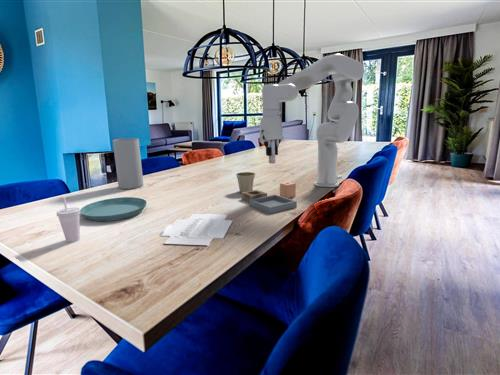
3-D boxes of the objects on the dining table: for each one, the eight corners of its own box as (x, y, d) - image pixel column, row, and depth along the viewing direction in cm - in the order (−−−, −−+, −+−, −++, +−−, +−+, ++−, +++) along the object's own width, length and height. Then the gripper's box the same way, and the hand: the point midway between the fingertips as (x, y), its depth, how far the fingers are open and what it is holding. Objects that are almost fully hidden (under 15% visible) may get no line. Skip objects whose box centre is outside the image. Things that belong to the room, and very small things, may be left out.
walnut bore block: (256, 195, 145) (256, 189, 144) (267, 199, 138) (267, 193, 138) (241, 198, 140) (241, 192, 140) (252, 203, 134) (252, 196, 133)
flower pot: (253, 194, 148) (253, 176, 146) (234, 193, 150) (233, 175, 148) (257, 189, 157) (257, 172, 155) (238, 188, 159) (238, 171, 157)
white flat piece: (236, 217, 119) (235, 207, 118) (219, 252, 92) (219, 240, 91) (183, 215, 121) (182, 206, 120) (153, 249, 95) (151, 238, 94)
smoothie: (67, 236, 102) (60, 194, 98) (87, 235, 102) (81, 193, 99) (57, 244, 96) (49, 200, 92) (79, 243, 96) (72, 199, 93)
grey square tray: (275, 199, 138) (275, 194, 138) (296, 207, 127) (296, 201, 127) (249, 205, 131) (249, 199, 130) (270, 213, 120) (269, 207, 119)
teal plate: (85, 208, 132) (84, 201, 131) (145, 201, 140) (145, 194, 139) (76, 227, 110) (75, 218, 109) (149, 218, 118) (148, 210, 117)
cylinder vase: (113, 188, 165) (107, 140, 159) (130, 183, 176) (125, 138, 170) (132, 190, 160) (126, 140, 154) (148, 184, 171) (143, 138, 165)
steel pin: (272, 162, 147) (272, 136, 144) (276, 162, 145) (276, 136, 142) (267, 162, 145) (266, 136, 143) (271, 163, 143) (271, 137, 140)
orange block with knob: (288, 194, 147) (288, 181, 146) (295, 196, 143) (295, 183, 142) (279, 196, 144) (279, 183, 143) (287, 198, 140) (287, 184, 139)
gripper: (280, 113, 147) (280, 152, 152) (251, 114, 138) (252, 156, 143) (290, 113, 141) (291, 154, 146) (261, 114, 132) (262, 158, 137)
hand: (272, 154), depth 144 cm, fingers closed on steel pin, 3 cm apart
